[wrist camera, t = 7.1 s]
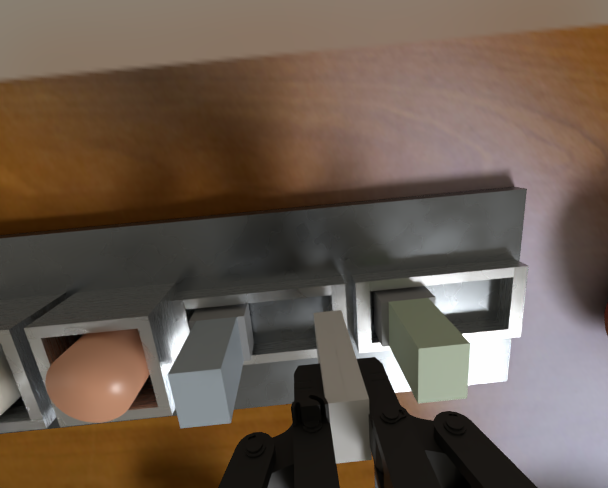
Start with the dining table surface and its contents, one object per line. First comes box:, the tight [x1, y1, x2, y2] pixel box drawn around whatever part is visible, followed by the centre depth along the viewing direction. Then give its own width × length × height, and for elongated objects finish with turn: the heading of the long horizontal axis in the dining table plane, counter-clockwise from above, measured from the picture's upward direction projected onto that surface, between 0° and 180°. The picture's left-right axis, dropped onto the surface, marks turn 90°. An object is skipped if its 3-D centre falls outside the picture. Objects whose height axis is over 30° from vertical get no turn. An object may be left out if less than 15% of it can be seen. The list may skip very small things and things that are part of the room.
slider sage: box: [373, 286, 470, 403], centre depth 17 cm, size 3×3×6 cm
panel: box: [0, 187, 528, 434], centre depth 19 cm, size 34×13×5 cm, turn 95°
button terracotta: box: [45, 329, 150, 423], centre depth 18 cm, size 4×4×4 cm
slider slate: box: [168, 303, 254, 428], centre depth 17 cm, size 3×3×6 cm
